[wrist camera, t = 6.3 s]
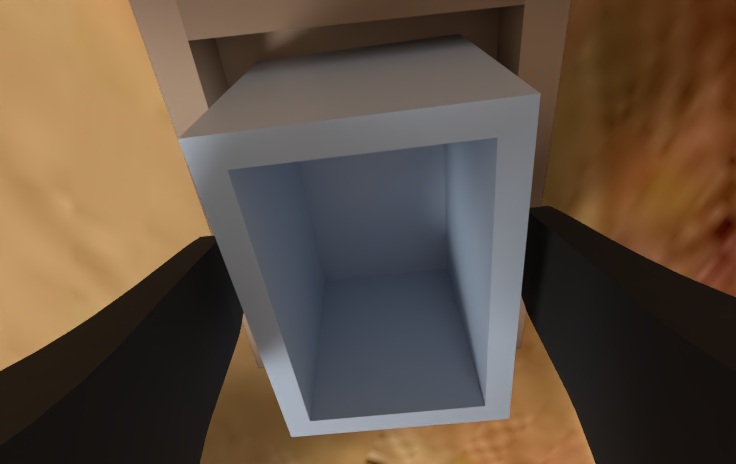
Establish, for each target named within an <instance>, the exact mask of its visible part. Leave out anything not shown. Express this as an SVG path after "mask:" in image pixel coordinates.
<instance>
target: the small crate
mask: <svg viewBox="0 0 736 464" xmlns="http://www.w3.org/2000/svg"><path fill="white" fill-rule="evenodd" d="M540 95H541V93H539V92H538V91H537V90H535V89H534V88H533V87H531V86H530V85H529V84H527V83H526V82H524V81H523V80H522V79H520V78H519V77H518V76H516V75H515V74H514V73H512V72H511V71H510V70H508V69H507V68H506V67H504V66H503V65H501V64H500V63H499V62H497V61H496V60H495V59H493V58H492V57H491V56H489V55H488V54H487V53H485V52H484V51H483V50H481V49H480V48H479V47H477V46H476V45H474V44H473V43H472V42H470V41H469V40H468V39H466V38H465V37H464V36H462V35H461V34H455V35H447V36H440V37H433V38H425V39H418V40H410V41H403V42H395V43H388V44H380V45H373V46H365V47H358V48H351V49H343V50H336V51H328V52H321V53H313V54H306V55H298V56H291V57H283V58H276V59H269V60H261V61H257V62H256V63H255V64H254V65H253V66H252V67H251V68H250V69H249V70H248V71H247V72H246V73H245V74H244V75H243V76H242V77H241V78H240V79H239V80H238V81H237V82H236V83H235V84H234V85H233V86H232V87H231V88H230V89H228V90H227V91H226V92H225V93H224V94H223V95H222V96H221V97H220V98H219V99H218V100H217V101H216V102H215V103H214V104H213V105H212V106H211V107H210V108H209V109H208V110H207V111H206V112H205V113H204V114H203V115H202V116H201V117H200V118H199V119H198V120H197V121H196V122H195V123H194V124H193V125H192V126H190V127H189V128H188V129H187V130H186V131H185V132H184V133H183V134H182V135H181V136H180V137H179V138H178V141H179V144H180V146H181V149H182V152H183V154H184V157H185V160H186V162H187V165H188V167H189V170H190V173H191V175H192V178H193V181H194V183H195V186H196V188H197V191H198V194H199V196H200V199H201V201H202V204H203V207H204V209H205V212H206V215H207V217H208V220H209V222H210V225H211V228H212V230H213V233H214V236H215V238H216V241H217V243H218V246H219V249H220V251H221V254H222V257H223V259H224V262H225V264H226V267H227V270H228V272H229V275H230V277H231V280H232V283H233V285H234V288H235V291H236V293H237V296H238V298H239V301H240V304H241V306H242V309H243V312H244V314H245V317H246V319H247V322H248V325H249V327H250V330H251V333H252V335H253V338H254V340H255V343H256V346H257V348H258V351H259V353H260V356H261V359H262V361H263V364H264V367H265V369H266V372H267V374H268V377H269V380H270V382H271V385H272V388H273V390H274V393H275V395H276V398H277V401H278V403H279V406H280V409H281V411H282V414H283V416H284V419H285V422H286V424H287V427H288V430H289V432H290V435H291V437H300V436H312V435H324V434H335V433H347V432H359V431H371V430H383V429H394V428H406V427H418V426H430V425H442V424H453V423H465V422H477V421H489V420H500V419H509V413H510V403H511V393H512V382H513V372H514V362H515V352H516V341H517V331H518V321H519V311H520V300H521V290H522V280H523V270H524V259H525V249H526V239H527V229H528V218H529V208H530V198H531V188H532V177H533V167H534V157H535V147H536V136H537V126H538V116H539V106H540Z"/></svg>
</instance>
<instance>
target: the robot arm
mask: <svg viewBox="0 0 736 464" xmlns="http://www.w3.org/2000/svg"><path fill="white" fill-rule="evenodd" d="M521 297H522V299H523V302H524V305H525V308H526V311H527V313H528V315H529V317H530V319H531V321H532V323H533V325H534V327H535V329H536V331H537V333H538V335H539V337H540V339H541V341H542V343H543V345H544V347H545V349H546V351H547V353H548V355H549V357H550V359H551V361H552V363H553V365H554V367H555V369H556V371H557V373H558V375H559V377H560V379H561V381H562V383H563V385H564V387H565V389H566V391H567V393H568V395H569V397H570V399H571V401H572V404H573V406H574V408H575V410H576V413H577V415H578V418H579V421H580V423H581V426H582V428H583V431H584V434H585V436H586V439H587V442H588V444H589V447H590V449H591V452H592V455H593V458H594V460H595V463H596V464H736V297H733V296H731V295H728V294H726V293H723V292H721V291H719V290H716V289H714V288H711V287H709V286H706V285H704V284H701V283H699V282H697V281H694V280H692V279H690V278H687V277H685V276H683V275H681V274H678V273H676V272H674V271H672V270H670V269H668V268H666V267H664V266H662V265H660V264H658V263H655V262H653V261H651V260H649V259H647V258H645V257H643V256H641V255H639V254H637V253H635V252H634V251H632V250H630V249H628V248H626V247H624V246H622V245H620V244H618V243H617V242H615V241H613V240H611V239H609V238H607V237H606V236H604V235H602V234H600V233H599V232H597V231H595V230H593V229H591V228H590V227H588V226H586V225H584V224H583V223H581V222H579V221H577V220H575V219H574V218H572V217H570V216H568V215H566V214H564V213H563V212H561V211H559V210H557V209H555V208H552V207H550V206H543V207H532V208H529V218H528V229H527V239H526V249H525V259H524V270H523V280H522V290H521ZM243 314H244V312H243V309H242V306H241V304H240V301H239V298H238V296H237V293H236V291H235V288H234V285H233V283H232V280H231V277H230V275H229V272H228V270H227V267H226V264H225V262H224V259H223V257H222V254H221V251H220V249H219V246H218V243H217V241H216V238H215V236H205V237H200V238H198V239H197V240H195V241H193V242H192V243H190V244H189V245H188V246H186V247H185V248H184V249H182V250H181V251H180V252H178V253H177V254H176V255H174V256H173V257H172V258H171V259H169V260H168V261H167V262H165V263H164V264H163V265H162V266H160V267H159V268H158V269H156V270H155V271H154V272H152V273H151V274H150V275H149V276H147V277H146V278H145V279H143V280H142V281H141V282H140V283H138V284H137V285H136V286H134V287H133V288H132V289H130V290H129V291H127V292H126V293H125V294H123V295H122V296H120V297H119V298H118V299H116V300H115V301H113V302H112V303H111V304H109V305H108V306H106V307H105V308H104V309H102V310H101V311H99V312H98V313H97V314H95V315H94V316H92V317H91V318H89V319H88V320H86V321H85V322H83V323H82V324H80V325H79V326H77V327H76V328H74V329H73V330H71V331H70V332H68V333H66V334H65V335H63V336H61V337H60V338H58V339H56V340H55V341H53V342H51V343H50V344H48V345H47V346H45V347H43V348H42V349H40V350H38V351H36V352H35V353H33V354H31V355H29V356H28V357H26V358H24V359H22V360H20V361H18V362H16V363H15V364H13V365H11V366H9V367H7V368H5V369H3V370H2V371H0V464H200V459H201V455H202V451H203V446H204V442H205V438H206V434H207V431H208V427H209V424H210V420H211V417H212V414H213V411H214V408H215V405H216V402H217V399H218V397H219V394H220V391H221V388H222V385H223V382H224V379H225V376H226V373H227V370H228V367H229V364H230V361H231V358H232V355H233V352H234V349H235V346H236V343H237V340H238V337H239V334H240V329H241V324H242V319H243Z"/></svg>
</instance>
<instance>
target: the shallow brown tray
mask: <svg viewBox="0 0 736 464" xmlns="http://www.w3.org/2000/svg"><path fill="white" fill-rule="evenodd" d="M129 3H130V5H131V8H132V11H133V14H134V17H135V20H136V22H137V25H138V28H139V31H140V34H141V37H142V39H143V42H144V45H145V48H146V51H147V54H148V56H149V59H150V62H151V65H152V68H153V70H154V73H155V76H156V79H157V82H158V85H159V87H160V90H161V93H162V96H163V99H164V102H165V104H166V107H167V110H168V113H169V116H170V119H171V121H172V124H173V127H174V130H175V133H176V136H177V138H179V137H180V136H181V135H182V134H183V133H184V132H185V131H186V130H187V129H188V128H189V127H190V126H192V125H193V124H194V123H195V122H196V121H197V120H198V119H199V118H200V117H201V116H202V115H203V114H204V113H205V112H206V111H207V110H208V109H209V108H210V107H211V106H212V105H213V104H214V103H215V102H216V101H217V100H218V99H219V98H220V97H221V96H222V95H223V94H224V93H225V92H226V91H227V90H228V89H230V88H231V87H232V86H233V85H234V84H235V83H236V82H237V81H238V80H239V79H240V78H241V77H242V76H243V75H244V74H245V73H246V72H247V71H248V70H249V69H250V68H251V67H252V66H253V65H254V64H255V63H256V62H257V61H261V60H269V59H276V58H283V57H291V56H298V55H306V54H313V53H321V52H328V51H336V50H343V49H351V48H358V47H365V46H373V45H380V44H388V43H395V42H403V41H410V40H418V39H425V38H433V37H440V36H447V35H455V34H461V35H462V36H464V37H465V38H466V39H468V40H469V41H470V42H472V43H473V44H474V45H476V46H477V47H479V48H480V49H481V50H483V51H484V52H485V53H487V54H488V55H489V56H491V57H492V58H493V59H495V60H496V61H497V62H499V63H500V64H501V65H503V66H504V67H506V68H507V69H508V70H510V71H511V72H512V73H514V74H515V75H516V76H518V77H519V78H520V79H522V80H523V81H524V82H526V83H527V84H529V85H530V86H531V87H533V88H534V89H535V90H537V91H538V92H539V93H541V95H540V106H539V116H538V126H537V136H536V147H535V157H534V167H533V177H532V188H531V198H530V208H532V207H541V205H542V198H543V191H544V184H545V177H546V171H547V164H548V157H549V150H550V143H551V136H552V129H553V122H554V115H555V109H556V102H557V95H558V88H559V81H560V74H561V67H562V60H563V53H564V47H565V40H566V33H567V26H568V19H569V12H570V5H571V0H129ZM180 147H181V146H180ZM181 150H182V149H181ZM182 153H183V152H182ZM183 155H184V154H183ZM184 158H185V157H184ZM185 161H186V160H185ZM186 164H187V162H186ZM187 167H188V165H187ZM188 170H189V167H188ZM189 172H190V170H189ZM190 175H191V173H190ZM191 178H192V175H191ZM192 181H193V178H192ZM193 184H194V187H195V189H196V192H197V195H198V198H199V201H200V203H201V206H202V209H203V212H204V215H205V218H206V220H207V223H208V226H209V229H210V232H211V235H212V236H214V233H213V230H212V228H211V225H210V222H209V220H208V217H207V215H206V212H205V209H204V207H203V204H202V201H201V199H200V196H199V194H198V191H197V188H196V186H195V183H194V181H193ZM525 315H526V308H525V305H524V302H523V299H522V297H521V300H520V311H519V321H518V331H517V341H516V349H520V348H521V343H522V336H523V329H524V322H525ZM242 322H243V325H244V328H245V331H246V334H247V336H248V339H249V342H250V345H251V348H252V351H253V353H254V356H255V359H256V362H257V365H258V368H265V367H264V364H263V361H262V359H261V356H260V353H259V351H258V348H257V346H256V343H255V340H254V338H253V335H252V333H251V330H250V327H249V325H248V322H247V319H246V317H245V314H243V319H242Z"/></svg>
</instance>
